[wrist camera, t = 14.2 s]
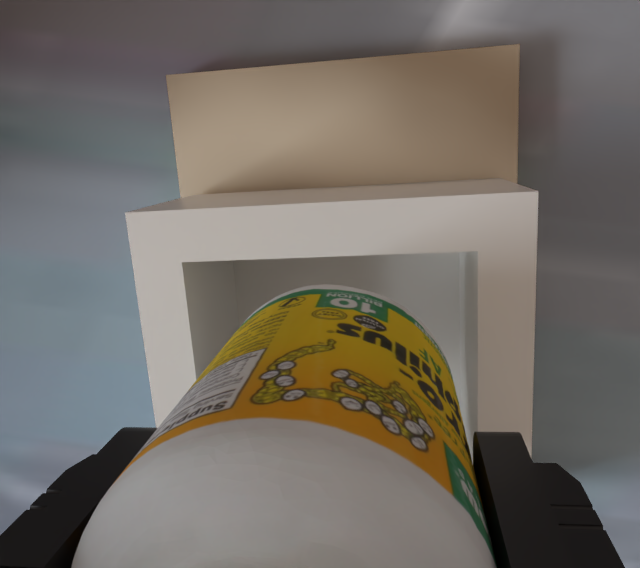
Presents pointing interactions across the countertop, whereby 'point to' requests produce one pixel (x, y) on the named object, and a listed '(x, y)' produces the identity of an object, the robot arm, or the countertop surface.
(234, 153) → the frame
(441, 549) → the supplement bottle
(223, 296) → the socket block
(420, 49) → the countertop surface
